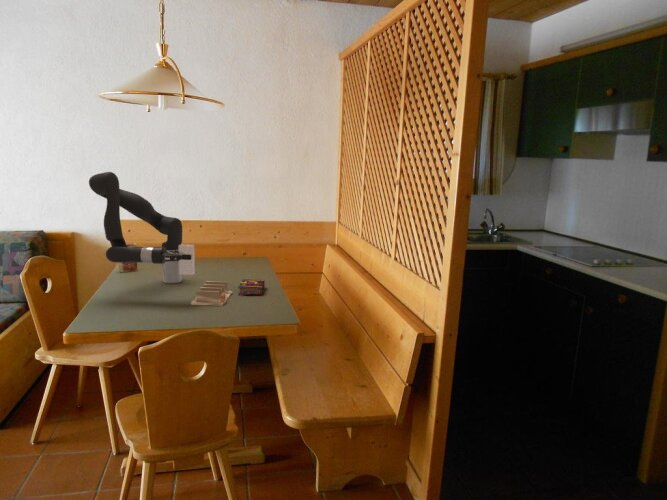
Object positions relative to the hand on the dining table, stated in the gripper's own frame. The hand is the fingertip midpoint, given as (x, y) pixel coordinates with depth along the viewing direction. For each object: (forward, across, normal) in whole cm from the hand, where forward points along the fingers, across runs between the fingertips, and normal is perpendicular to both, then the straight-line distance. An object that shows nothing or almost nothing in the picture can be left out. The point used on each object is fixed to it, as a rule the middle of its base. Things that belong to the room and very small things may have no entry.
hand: (192, 256), depth 229 cm
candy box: (-52, +53, +21) cm, 77 cm away
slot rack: (+7, +6, +21) cm, 23 cm away
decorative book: (+23, +21, +21) cm, 37 cm away
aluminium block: (-2, 0, +8) cm, 8 cm away
